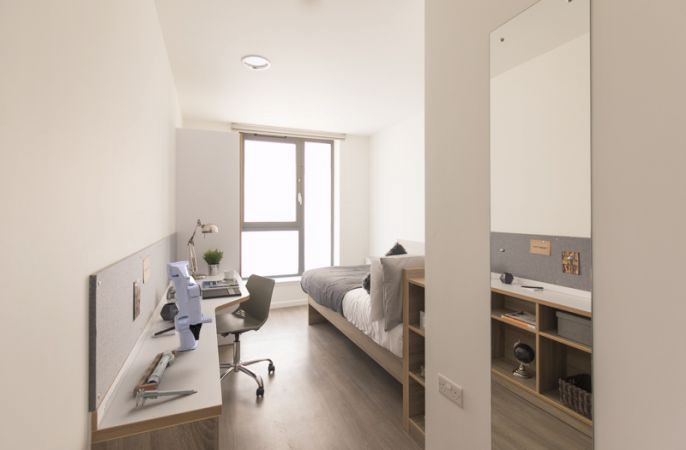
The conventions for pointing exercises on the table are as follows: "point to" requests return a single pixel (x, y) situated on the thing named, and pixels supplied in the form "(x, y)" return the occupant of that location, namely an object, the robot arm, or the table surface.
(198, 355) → the table surface
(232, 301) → the table surface
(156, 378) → the white tube
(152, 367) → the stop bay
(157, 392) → the caliper
